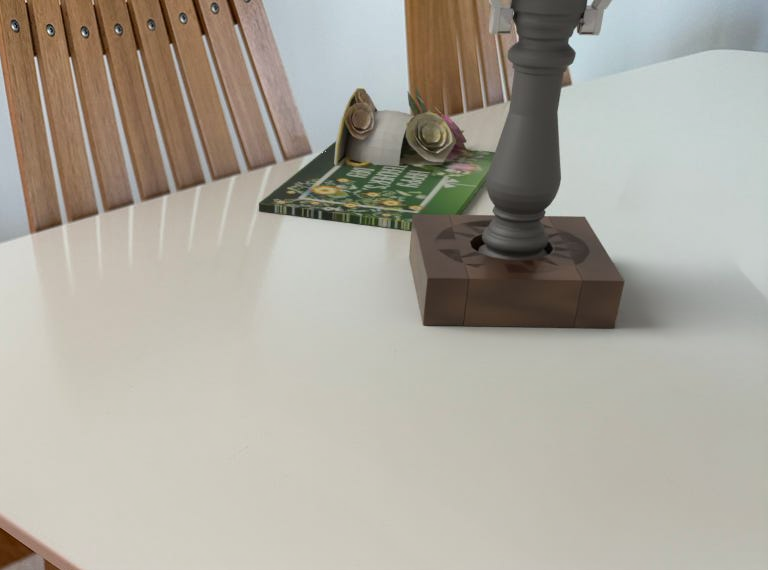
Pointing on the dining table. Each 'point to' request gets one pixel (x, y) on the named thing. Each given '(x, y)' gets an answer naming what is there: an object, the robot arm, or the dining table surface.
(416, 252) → the holder
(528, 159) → the grey baluster
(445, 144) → the decorative card
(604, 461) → the dining table surface
